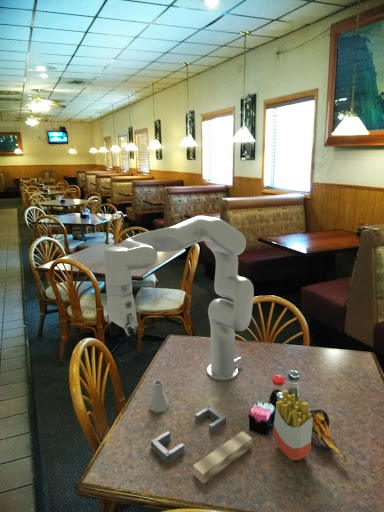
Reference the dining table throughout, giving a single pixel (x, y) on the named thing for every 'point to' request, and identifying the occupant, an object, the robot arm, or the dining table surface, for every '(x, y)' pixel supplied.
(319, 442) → the fried food
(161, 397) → the flask
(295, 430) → the french fries container
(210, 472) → the birch slat
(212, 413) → the end cap
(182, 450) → the end cap
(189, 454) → the dining table surface
